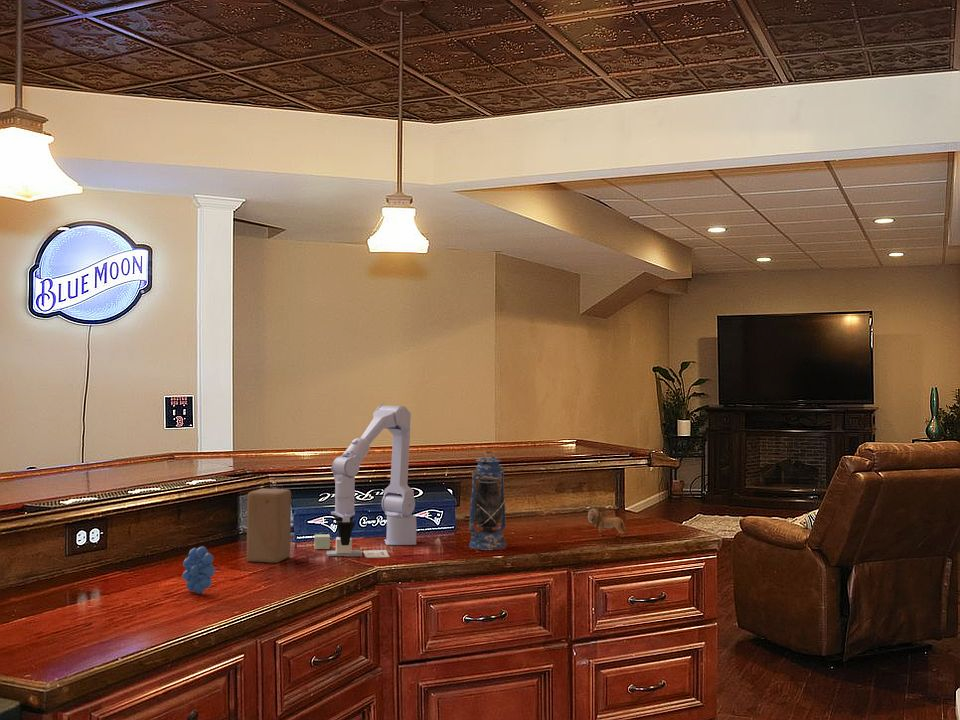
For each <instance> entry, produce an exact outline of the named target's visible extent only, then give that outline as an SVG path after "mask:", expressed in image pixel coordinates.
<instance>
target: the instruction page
mask: <svg viewBox="0 0 960 720" xmlns="http://www.w3.org/2000/svg"><path fill="white" fill-rule="evenodd" d="M362 553H363V554H364V555H363V556H364V557H365V559H369V558H370V559H374V558H377V559H378V558H380V559H381V558H391V557H390V555H389V553H388V551H387V550H386V549H381V550H380V549H379V550H378V549H374V550H362Z"/></svg>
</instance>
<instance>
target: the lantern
mask: <svg viewBox="0 0 960 720" xmlns="http://www.w3.org/2000/svg"><path fill="white" fill-rule="evenodd" d="M489 453H490V457H487V455H488V454H489ZM475 461H476V462H477V465H476V467H475V469H474V470H472V472H471V475H472V480H471V481H472V482H471V483H472V484H471V494H470V506H469V507H470V510H469V523H468V524H469V525H468V532H469V534H470V536H471V537H470V541H469V544H468V545H469V547H471V548H474V549H481V550H493V549H500V548H504V547H505V546H507V544H506V541H505V534H503V533H502V532H503V531H504V530H505V528H506V523H507V522H506V504H505V503H506V499H505V478H504V476H505V475H504V473H505V468H504V467H503V466H500V462H501V461H502V460H501V459H499V458H498V457H496V456H494V455H493V452H492V451H485V453H484V456H482V457H479V458H478V459H476V460H475ZM498 480H499V486H498ZM477 481H478V487H477ZM475 521H476V523H477V524H476V527H477V528H479V529H478V531H476V530H475V527H474V526H475ZM499 522H500V526H499V525H498V523H499ZM480 528H481V529H480ZM495 528H496V529H495Z"/></svg>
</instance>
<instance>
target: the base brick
mask: <svg viewBox="0 0 960 720" xmlns="http://www.w3.org/2000/svg"><path fill="white" fill-rule="evenodd" d="M327 555H328V556H344V557H345V556H346V557H362V556H363V551H361V549H352V553H336V550H326V556H327ZM328 556H327V557H328ZM344 557H343V558H344ZM346 557H345V558H346Z"/></svg>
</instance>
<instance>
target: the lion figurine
mask: <svg viewBox="0 0 960 720" xmlns="http://www.w3.org/2000/svg"><path fill="white" fill-rule="evenodd" d="M587 520H588V522H589V523H590V524H592V525H593V526H594V527H595V528H598V533H599V532H602V531H603V532H604V529H613V528H615V530H616V531H617V532H618V534H619V533H621V535H622V534H624V535H626V534H628V533H627V528H626V525H625V523H624V520H623V519H622V518H620V517H617V516H615V517H609V516H607V515H606V514H605V513H603V512H601V511H600V510H599V509H596V508H591V509H588V515H587ZM622 527H623V528H622Z"/></svg>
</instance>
